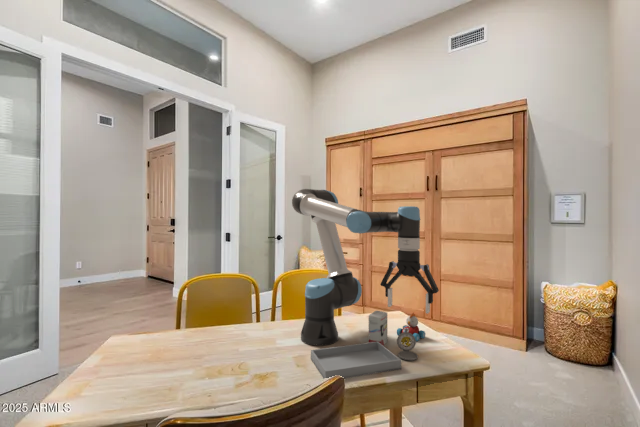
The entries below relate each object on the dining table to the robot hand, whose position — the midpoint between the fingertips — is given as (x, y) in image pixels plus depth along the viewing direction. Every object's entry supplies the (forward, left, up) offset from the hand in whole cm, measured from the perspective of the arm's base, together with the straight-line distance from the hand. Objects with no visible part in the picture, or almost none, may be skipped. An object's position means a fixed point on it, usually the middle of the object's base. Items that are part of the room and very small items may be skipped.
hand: (408, 309), depth 115 cm
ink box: (-13, +4, -17) cm, 22 cm away
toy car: (-5, +19, -17) cm, 26 cm away
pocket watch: (0, 0, -17) cm, 17 cm away
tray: (-13, -16, -17) cm, 27 cm away
